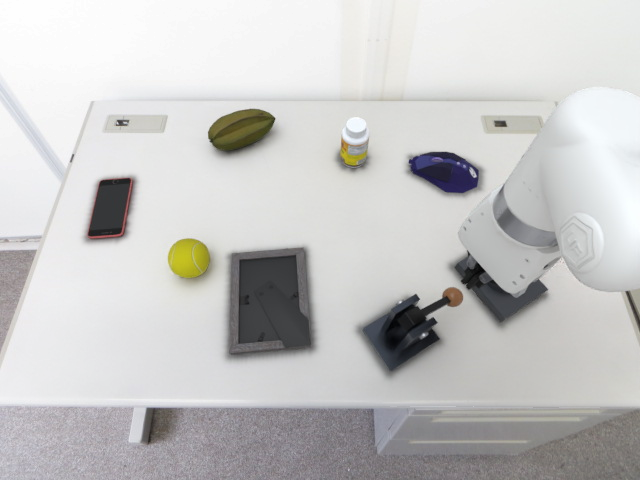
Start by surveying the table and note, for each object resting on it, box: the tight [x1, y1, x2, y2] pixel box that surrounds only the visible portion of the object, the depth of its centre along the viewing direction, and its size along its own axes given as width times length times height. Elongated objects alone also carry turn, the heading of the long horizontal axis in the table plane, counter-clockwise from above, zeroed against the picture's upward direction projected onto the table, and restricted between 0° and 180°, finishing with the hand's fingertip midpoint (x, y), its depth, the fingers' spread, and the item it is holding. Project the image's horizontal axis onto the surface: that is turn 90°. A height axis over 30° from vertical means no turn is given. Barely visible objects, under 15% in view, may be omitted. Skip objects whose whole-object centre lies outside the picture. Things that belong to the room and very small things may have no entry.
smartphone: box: [86, 177, 133, 239], centre depth 76 cm, size 7×1×14 cm
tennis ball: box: [167, 237, 211, 279], centre depth 67 cm, size 7×7×7 cm
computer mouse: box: [408, 151, 480, 194], centre depth 78 cm, size 9×15×4 cm, turn 75°
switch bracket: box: [362, 293, 441, 373], centre depth 58 cm, size 10×8×12 cm
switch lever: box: [398, 286, 464, 332], centre depth 58 cm, size 13×3×3 cm, turn 121°
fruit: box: [207, 108, 276, 152], centre depth 81 cm, size 11×12×7 cm
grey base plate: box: [454, 255, 549, 323], centre depth 66 cm, size 12×10×4 cm
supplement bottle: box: [340, 116, 371, 169], centre depth 77 cm, size 6×6×10 cm
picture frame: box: [228, 247, 312, 356], centre depth 66 cm, size 13×2×18 cm
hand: (472, 280), depth 53 cm, fingers closed
